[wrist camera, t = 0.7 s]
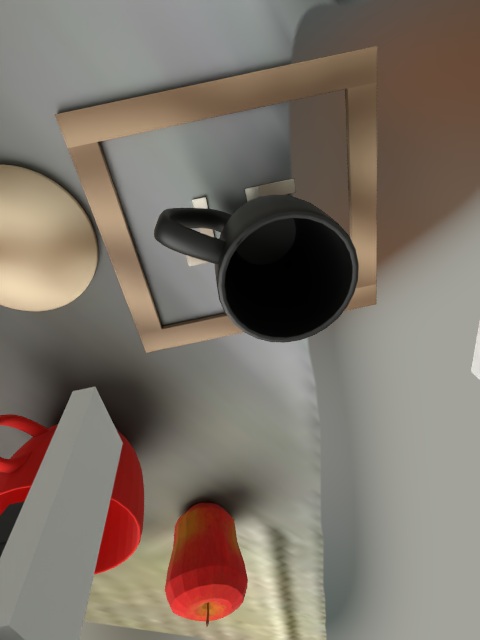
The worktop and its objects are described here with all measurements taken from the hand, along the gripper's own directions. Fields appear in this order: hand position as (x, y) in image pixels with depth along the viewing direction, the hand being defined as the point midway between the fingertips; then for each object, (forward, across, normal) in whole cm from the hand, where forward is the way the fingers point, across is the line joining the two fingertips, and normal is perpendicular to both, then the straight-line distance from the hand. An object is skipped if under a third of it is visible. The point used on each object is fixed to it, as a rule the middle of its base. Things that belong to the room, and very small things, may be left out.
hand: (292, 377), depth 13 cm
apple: (+19, -11, -35) cm, 41 cm away
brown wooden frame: (+19, 0, 0) cm, 19 cm away
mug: (+19, 0, 0) cm, 19 cm away
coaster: (+19, -16, +2) cm, 25 cm away
